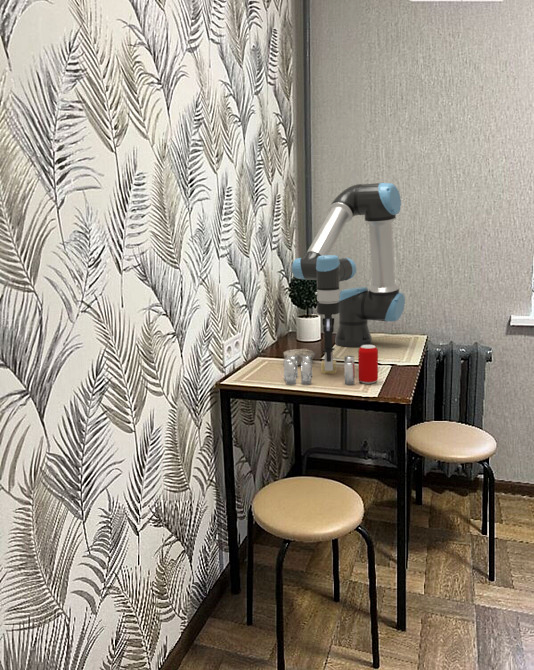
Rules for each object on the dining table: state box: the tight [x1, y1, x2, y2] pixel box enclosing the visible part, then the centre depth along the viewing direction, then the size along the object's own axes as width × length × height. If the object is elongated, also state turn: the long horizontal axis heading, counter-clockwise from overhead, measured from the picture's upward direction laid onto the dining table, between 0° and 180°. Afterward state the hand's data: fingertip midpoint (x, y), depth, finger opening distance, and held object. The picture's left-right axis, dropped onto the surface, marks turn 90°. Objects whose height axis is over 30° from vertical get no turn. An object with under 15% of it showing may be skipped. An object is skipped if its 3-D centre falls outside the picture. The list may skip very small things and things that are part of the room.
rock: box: [283, 348, 315, 366], centre depth 226 cm, size 11×11×6 cm
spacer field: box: [283, 355, 356, 386], centre depth 204 cm, size 11×28×7 cm, turn 83°
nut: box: [320, 359, 337, 375], centre depth 214 cm, size 5×5×4 cm
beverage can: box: [357, 344, 379, 385], centre depth 199 cm, size 6×6×12 cm
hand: (328, 369), depth 211 cm, fingers closed
